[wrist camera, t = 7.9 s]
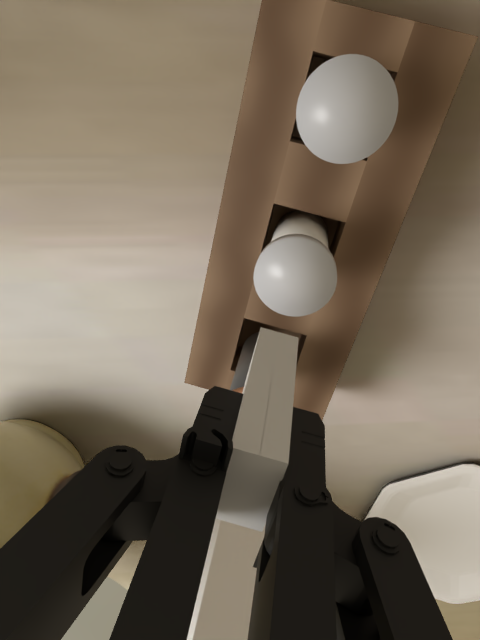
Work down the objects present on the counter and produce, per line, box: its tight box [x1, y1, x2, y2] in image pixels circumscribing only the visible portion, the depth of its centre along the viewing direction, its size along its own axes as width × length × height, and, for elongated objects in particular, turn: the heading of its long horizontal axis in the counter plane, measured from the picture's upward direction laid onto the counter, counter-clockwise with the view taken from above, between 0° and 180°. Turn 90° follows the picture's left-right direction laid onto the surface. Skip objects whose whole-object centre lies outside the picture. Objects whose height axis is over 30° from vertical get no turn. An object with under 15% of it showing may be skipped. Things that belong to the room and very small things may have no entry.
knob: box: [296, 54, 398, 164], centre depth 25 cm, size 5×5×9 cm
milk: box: [187, 519, 266, 640], centre depth 40 cm, size 6×6×22 cm
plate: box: [363, 463, 480, 604], centre depth 47 cm, size 20×20×2 cm
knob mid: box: [253, 210, 337, 317], centre depth 30 cm, size 5×5×9 cm
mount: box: [185, 0, 478, 420], centre depth 33 cm, size 12×28×5 cm, turn 167°
